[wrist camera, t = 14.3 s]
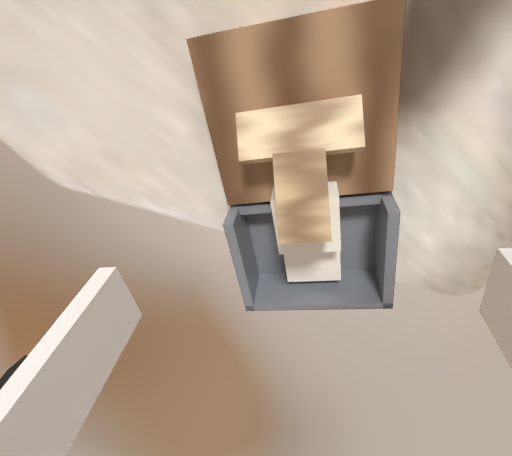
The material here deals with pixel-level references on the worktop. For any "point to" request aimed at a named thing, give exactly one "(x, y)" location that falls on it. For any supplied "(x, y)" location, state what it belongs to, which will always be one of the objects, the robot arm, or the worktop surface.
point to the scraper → (301, 158)
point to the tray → (351, 257)
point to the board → (305, 88)
